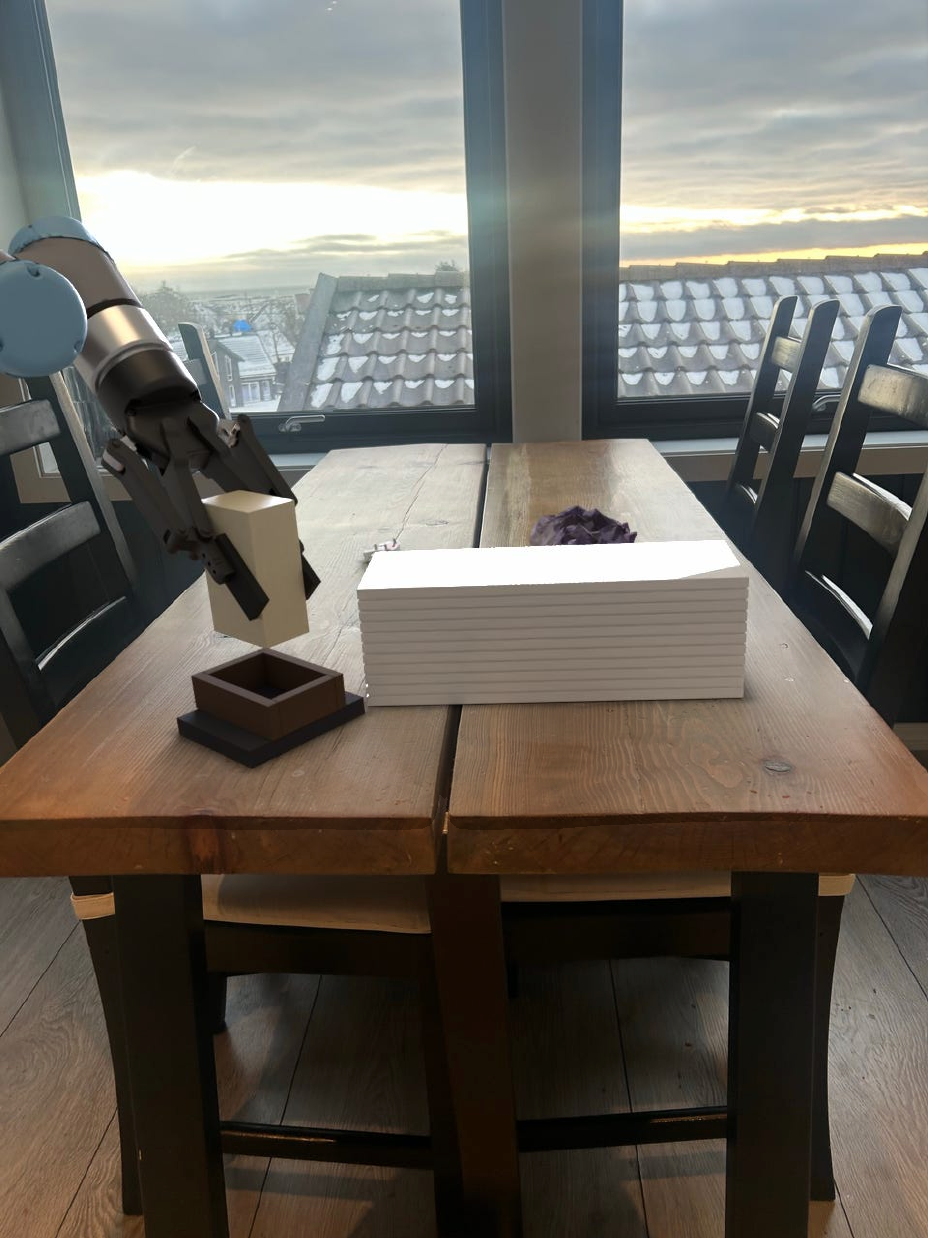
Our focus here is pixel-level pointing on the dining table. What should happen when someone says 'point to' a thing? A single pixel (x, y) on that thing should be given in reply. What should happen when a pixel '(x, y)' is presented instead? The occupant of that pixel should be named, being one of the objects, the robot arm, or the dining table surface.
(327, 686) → the square socket base
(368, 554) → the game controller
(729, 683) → the stack of papers
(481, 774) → the dining table surface
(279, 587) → the cream rectangular block
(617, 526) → the geode
